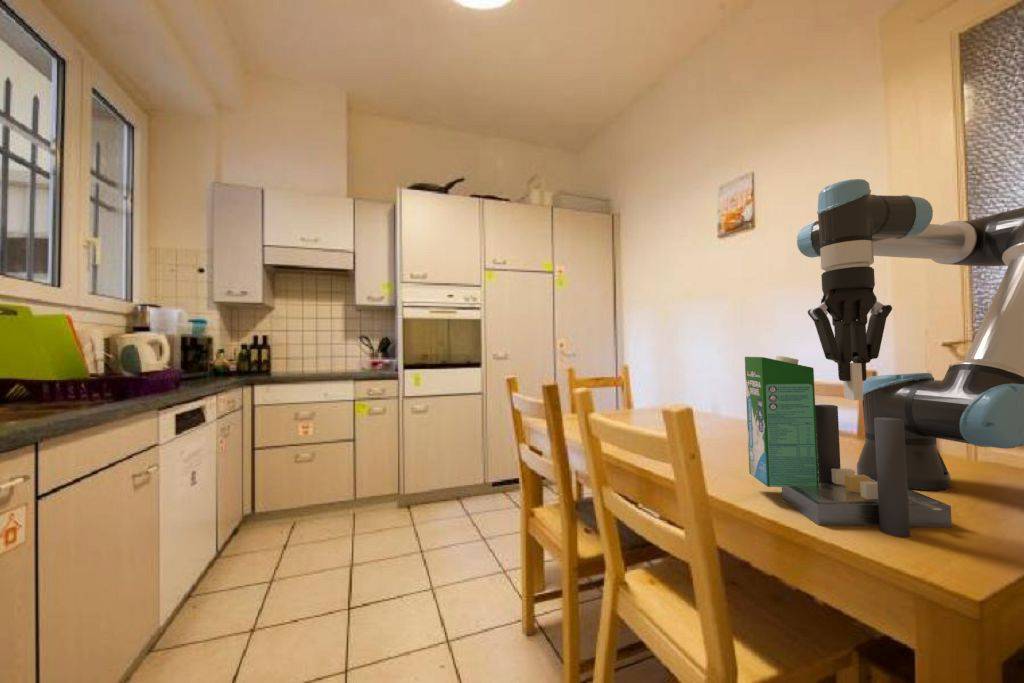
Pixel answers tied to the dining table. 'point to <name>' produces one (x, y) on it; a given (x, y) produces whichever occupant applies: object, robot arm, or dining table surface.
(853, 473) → the grey small block
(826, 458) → the post
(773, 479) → the milk carton
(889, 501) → the post
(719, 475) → the dining table surface
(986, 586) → the dining table surface
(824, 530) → the dining table surface
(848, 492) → the breaker panel
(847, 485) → the tan wooden block
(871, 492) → the beige rectangular block
